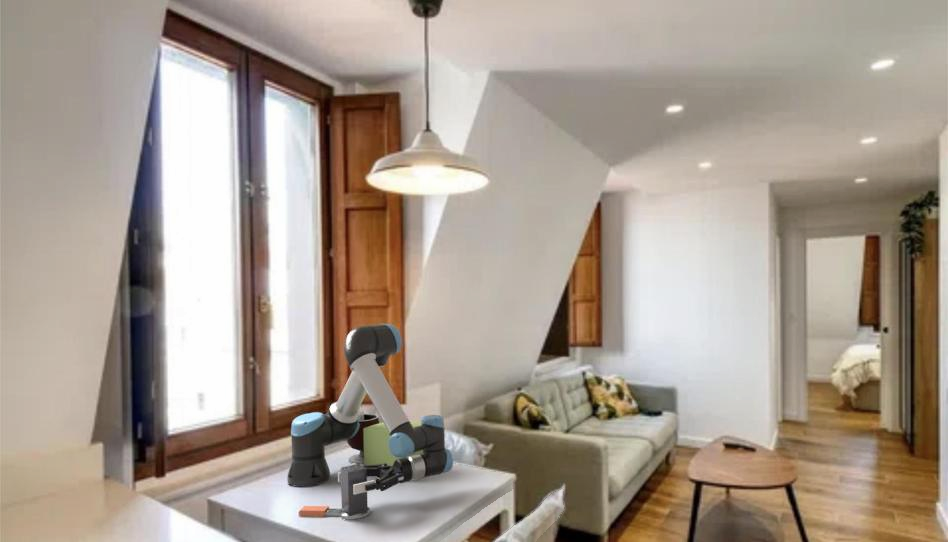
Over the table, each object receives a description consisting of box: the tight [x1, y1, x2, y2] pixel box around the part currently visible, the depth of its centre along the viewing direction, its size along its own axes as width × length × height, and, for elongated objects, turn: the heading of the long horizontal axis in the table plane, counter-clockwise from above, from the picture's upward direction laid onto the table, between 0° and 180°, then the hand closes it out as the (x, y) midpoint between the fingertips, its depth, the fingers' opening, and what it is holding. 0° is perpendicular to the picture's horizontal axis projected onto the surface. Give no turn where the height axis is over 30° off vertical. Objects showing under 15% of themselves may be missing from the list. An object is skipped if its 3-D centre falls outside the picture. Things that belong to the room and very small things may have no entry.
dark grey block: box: [340, 464, 369, 516], centre depth 168 cm, size 6×6×13 cm
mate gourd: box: [346, 405, 380, 465], centre depth 226 cm, size 16×14×20 cm
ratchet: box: [298, 505, 371, 521], centre depth 169 cm, size 22×9×4 cm, turn 83°
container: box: [363, 421, 423, 466], centre depth 208 cm, size 19×16×20 cm
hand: (345, 483), depth 167 cm, fingers open, 13 cm apart
